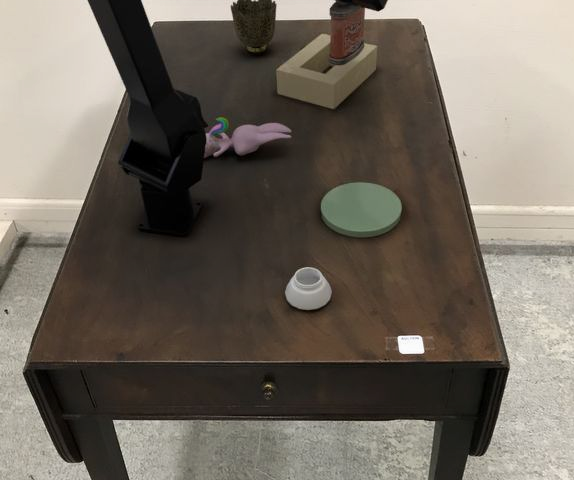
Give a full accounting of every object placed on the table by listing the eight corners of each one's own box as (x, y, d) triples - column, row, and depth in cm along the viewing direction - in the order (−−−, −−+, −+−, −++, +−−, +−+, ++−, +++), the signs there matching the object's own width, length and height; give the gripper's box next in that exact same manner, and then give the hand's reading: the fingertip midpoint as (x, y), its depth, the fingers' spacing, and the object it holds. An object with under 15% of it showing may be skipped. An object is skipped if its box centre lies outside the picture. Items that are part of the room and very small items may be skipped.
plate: (395, 242, 83) (395, 236, 82) (312, 231, 85) (312, 225, 84) (406, 193, 89) (406, 186, 89) (329, 184, 91) (329, 178, 91)
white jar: (315, 318, 74) (339, 291, 77) (315, 299, 72) (340, 271, 75) (277, 301, 77) (301, 275, 79) (275, 281, 74) (301, 255, 77)
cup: (233, 62, 116) (228, 14, 110) (236, 42, 121) (232, -5, 115) (277, 61, 116) (275, 13, 110) (279, 41, 121) (277, -6, 115)
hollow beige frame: (333, 109, 104) (334, 84, 102) (269, 91, 109) (268, 67, 106) (375, 70, 112) (377, 45, 110) (314, 55, 117) (314, 31, 114)
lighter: (349, 41, 105) (351, -29, 98) (369, 45, 104) (373, -25, 97) (323, 62, 100) (324, -10, 93) (344, 67, 99) (346, -5, 92)
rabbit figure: (187, 175, 96) (293, 157, 94) (173, 137, 92) (284, 118, 90) (192, 150, 101) (293, 132, 98) (179, 113, 96) (285, 94, 94)
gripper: (400, -117, 79) (438, -41, 93) (273, -139, 87) (325, -66, 101) (357, -22, 80) (400, 39, 94) (236, -53, 89) (292, 7, 102)
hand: (354, 1), depth 98 cm, fingers closed on lighter, 3 cm apart
